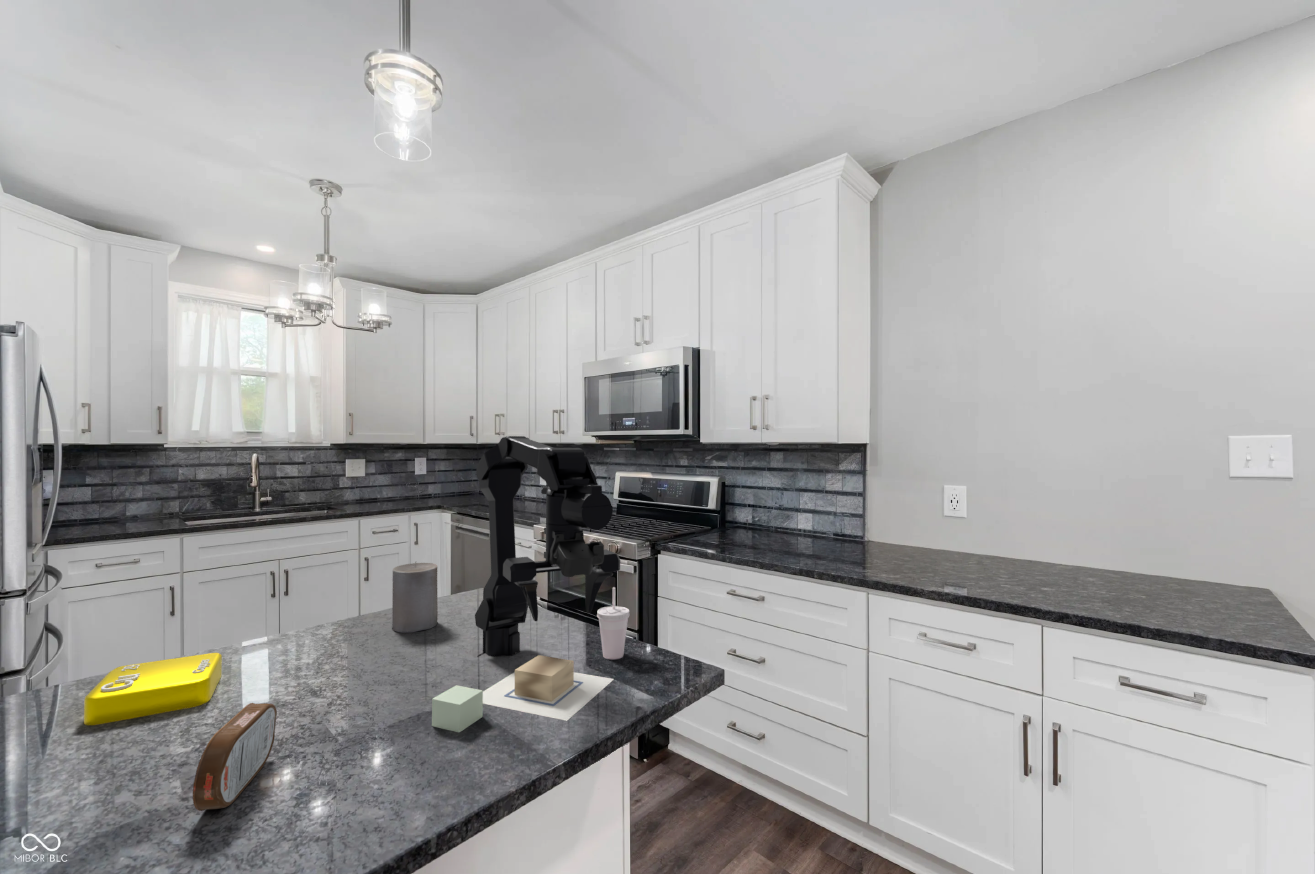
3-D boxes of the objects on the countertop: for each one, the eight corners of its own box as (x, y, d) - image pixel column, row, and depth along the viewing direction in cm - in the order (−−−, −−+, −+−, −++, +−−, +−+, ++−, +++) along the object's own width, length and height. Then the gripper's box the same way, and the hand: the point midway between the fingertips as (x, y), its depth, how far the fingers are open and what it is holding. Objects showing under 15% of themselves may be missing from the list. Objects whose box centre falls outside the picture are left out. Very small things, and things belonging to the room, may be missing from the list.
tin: (254, 754, 75) (255, 691, 75) (280, 751, 76) (281, 689, 76) (188, 829, 60) (189, 750, 61) (221, 824, 61) (222, 747, 61)
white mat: (468, 706, 89) (468, 699, 89) (526, 669, 104) (526, 663, 104) (566, 727, 82) (566, 719, 82) (614, 684, 97) (614, 678, 97)
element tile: (208, 706, 90) (208, 676, 90) (78, 730, 82) (79, 697, 82) (223, 674, 103) (223, 648, 103) (112, 692, 95) (113, 663, 95)
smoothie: (631, 654, 111) (632, 584, 112) (627, 667, 105) (627, 592, 105) (600, 653, 112) (600, 583, 112) (593, 666, 106) (593, 592, 106)
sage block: (431, 733, 81) (432, 698, 81) (455, 717, 85) (456, 685, 86) (459, 740, 79) (459, 704, 79) (482, 723, 84) (482, 690, 84)
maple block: (514, 694, 91) (514, 669, 91) (538, 677, 98) (538, 655, 98) (551, 701, 89) (551, 676, 89) (573, 684, 95) (573, 660, 95)
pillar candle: (406, 618, 135) (406, 556, 135) (445, 619, 134) (445, 557, 134) (383, 632, 125) (382, 565, 125) (424, 633, 124) (424, 566, 124)
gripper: (520, 533, 81) (519, 640, 81) (634, 525, 90) (634, 621, 90) (502, 524, 91) (501, 619, 91) (607, 517, 100) (606, 604, 100)
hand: (562, 616), depth 93 cm, fingers open, 9 cm apart
